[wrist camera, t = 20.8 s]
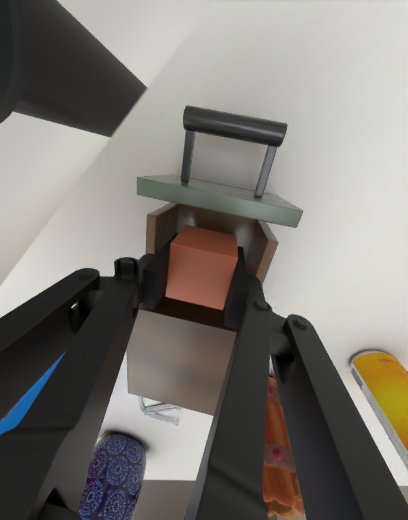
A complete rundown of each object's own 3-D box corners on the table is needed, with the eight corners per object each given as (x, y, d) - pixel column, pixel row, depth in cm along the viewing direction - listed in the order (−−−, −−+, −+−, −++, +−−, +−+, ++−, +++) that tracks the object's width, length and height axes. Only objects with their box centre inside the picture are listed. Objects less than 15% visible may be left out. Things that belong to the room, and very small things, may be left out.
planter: (88, 430, 54) (41, 513, 41) (128, 424, 49) (88, 518, 36) (123, 456, 60) (92, 538, 46) (163, 454, 54) (140, 546, 41)
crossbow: (163, 418, 46) (160, 429, 45) (128, 390, 43) (123, 400, 41) (215, 412, 40) (213, 423, 38) (178, 377, 36) (174, 389, 34)
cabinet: (161, 260, 25) (124, 305, 17) (252, 280, 25) (262, 338, 16) (156, 333, 32) (127, 393, 23) (227, 351, 31) (224, 419, 23)
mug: (244, 399, 37) (250, 531, 23) (227, 373, 34) (223, 506, 20) (324, 389, 32) (389, 547, 19) (312, 358, 29) (379, 517, 16)
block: (186, 224, 16) (170, 243, 12) (237, 235, 15) (238, 258, 11) (180, 268, 18) (165, 296, 14) (225, 279, 17) (223, 310, 13)
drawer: (175, 117, 17) (136, 82, 10) (297, 140, 17) (342, 118, 10) (162, 279, 26) (135, 320, 19) (243, 298, 25) (246, 347, 18)
